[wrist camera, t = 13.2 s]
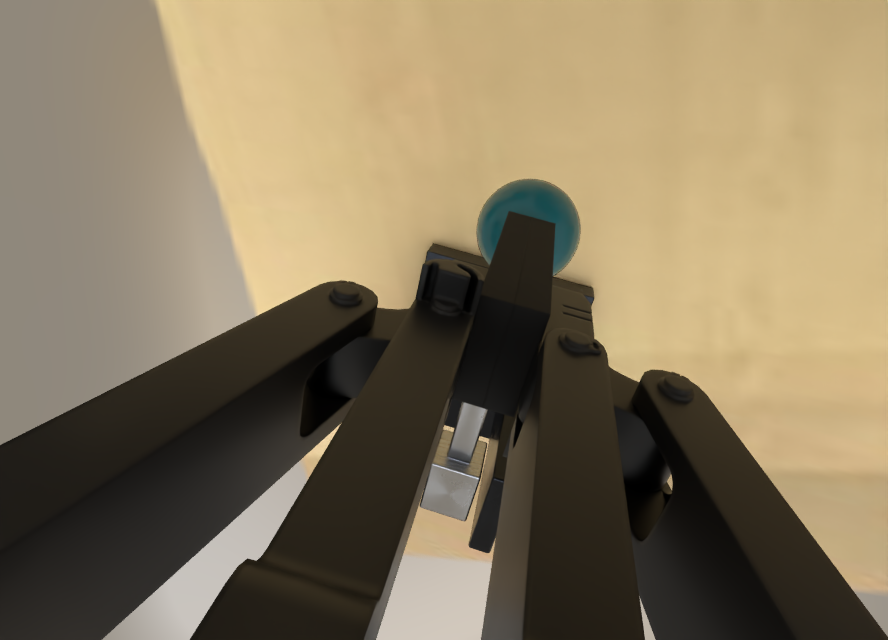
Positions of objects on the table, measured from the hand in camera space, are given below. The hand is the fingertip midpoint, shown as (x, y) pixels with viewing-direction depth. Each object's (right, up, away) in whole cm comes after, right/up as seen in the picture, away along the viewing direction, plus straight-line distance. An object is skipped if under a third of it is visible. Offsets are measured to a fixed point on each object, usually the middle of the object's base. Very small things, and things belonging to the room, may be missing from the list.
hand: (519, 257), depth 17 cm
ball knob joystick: (0, -3, +6) cm, 7 cm away
